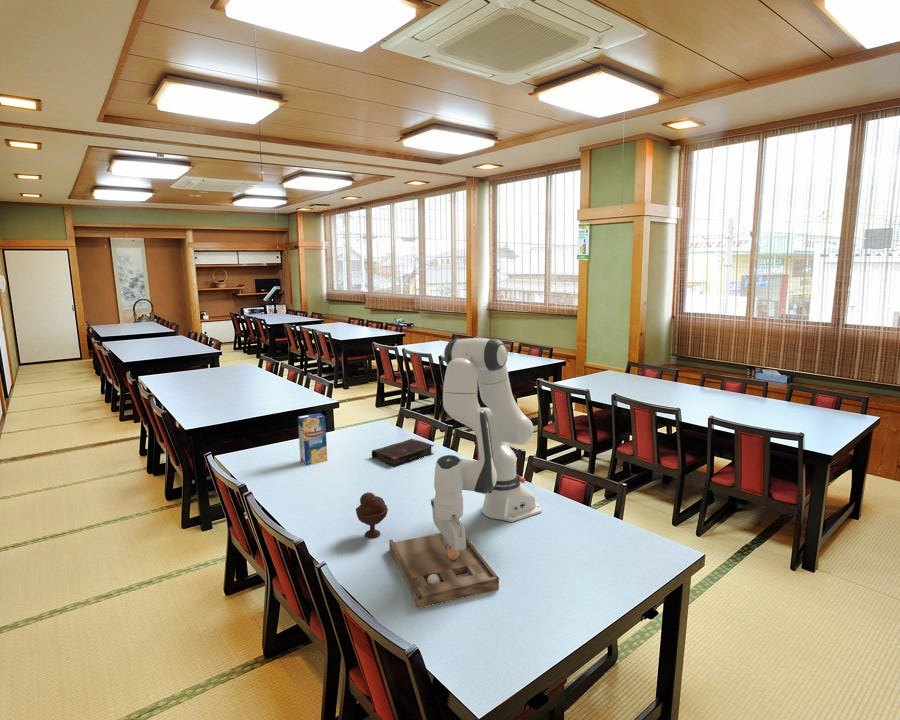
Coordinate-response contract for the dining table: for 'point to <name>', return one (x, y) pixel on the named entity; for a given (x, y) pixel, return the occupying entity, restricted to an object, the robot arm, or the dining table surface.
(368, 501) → the ice cream bowl
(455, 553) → the ball orange
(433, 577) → the ball grey
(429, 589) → the wooden tray
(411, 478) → the dining table surface
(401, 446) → the diary
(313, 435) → the beverage box
